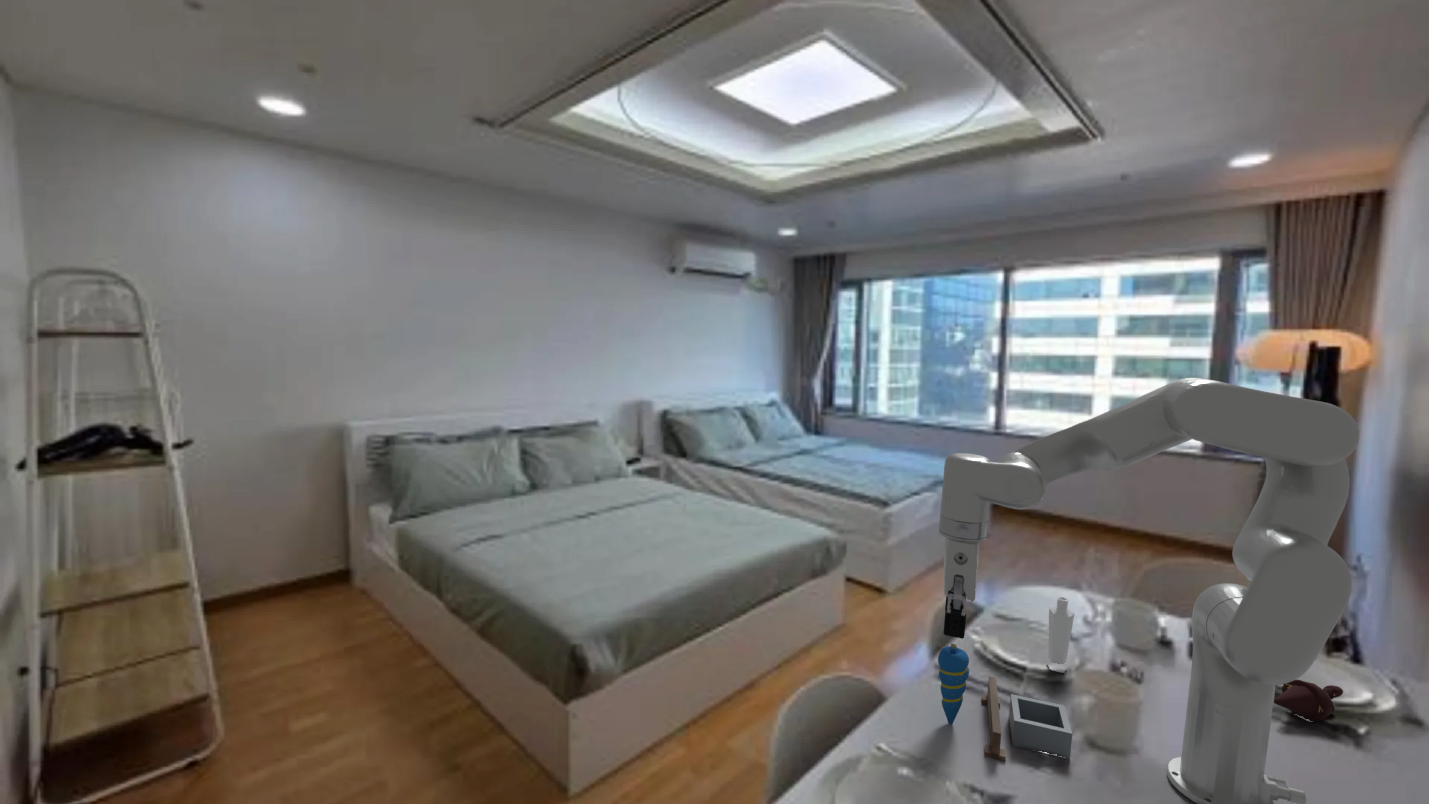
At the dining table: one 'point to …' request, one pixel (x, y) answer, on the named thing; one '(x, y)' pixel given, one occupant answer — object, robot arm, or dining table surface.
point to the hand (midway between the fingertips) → (954, 623)
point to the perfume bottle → (1060, 630)
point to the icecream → (1308, 699)
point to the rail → (993, 722)
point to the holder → (1039, 726)
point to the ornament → (952, 679)
